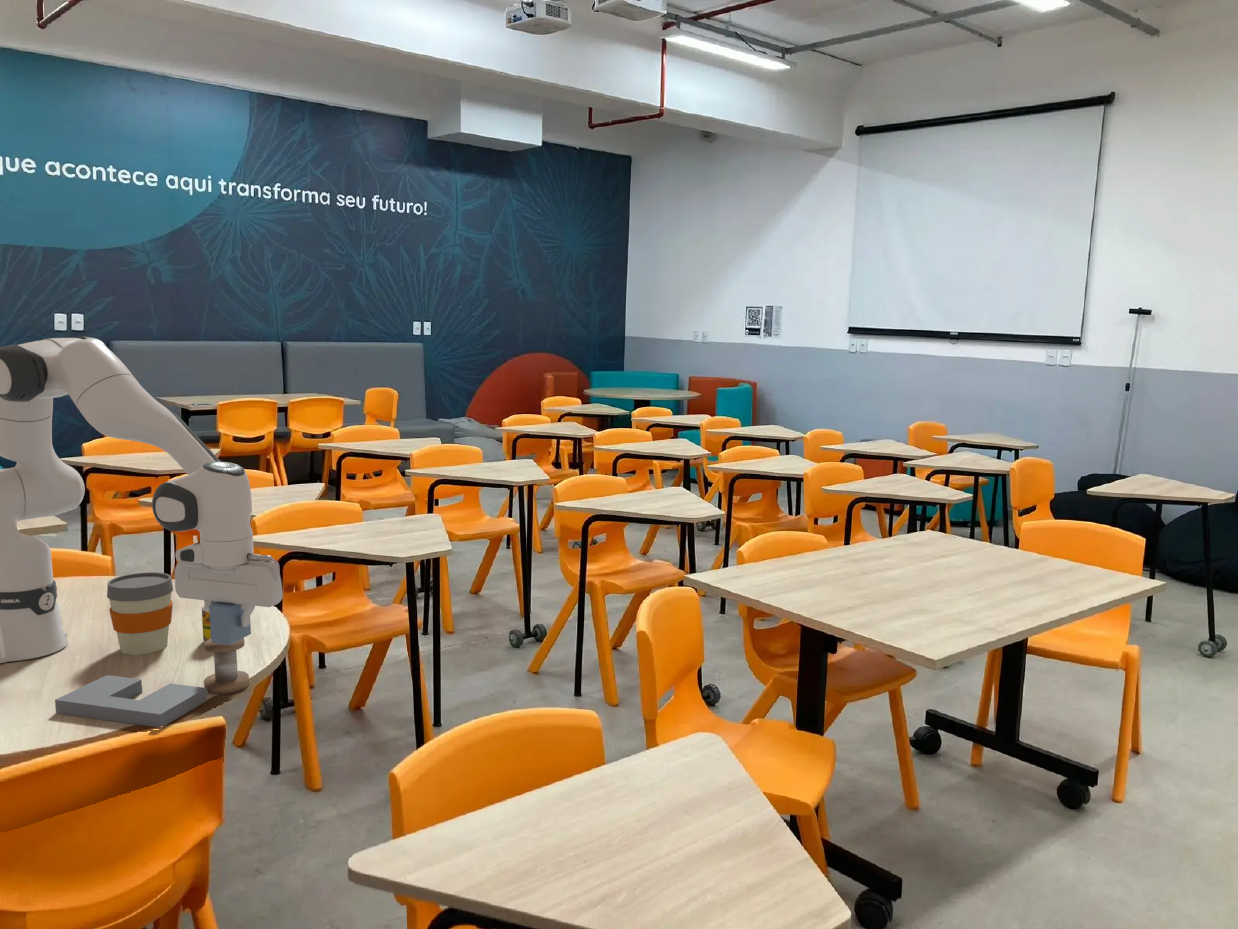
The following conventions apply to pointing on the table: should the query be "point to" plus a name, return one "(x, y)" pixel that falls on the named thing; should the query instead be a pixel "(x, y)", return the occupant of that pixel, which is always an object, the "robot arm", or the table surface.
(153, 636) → the reusable coffee cup
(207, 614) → the supplement bottle
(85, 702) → the notched board
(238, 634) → the blue-gray rectangular block
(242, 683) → the bobbin post
